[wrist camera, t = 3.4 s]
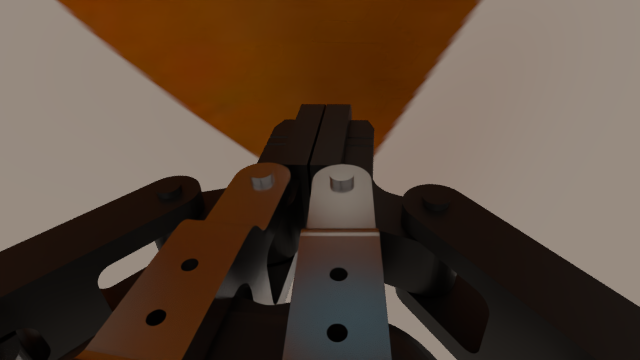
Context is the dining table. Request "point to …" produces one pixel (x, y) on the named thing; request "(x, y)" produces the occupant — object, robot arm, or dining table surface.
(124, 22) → the dining table surface
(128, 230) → the robot arm
